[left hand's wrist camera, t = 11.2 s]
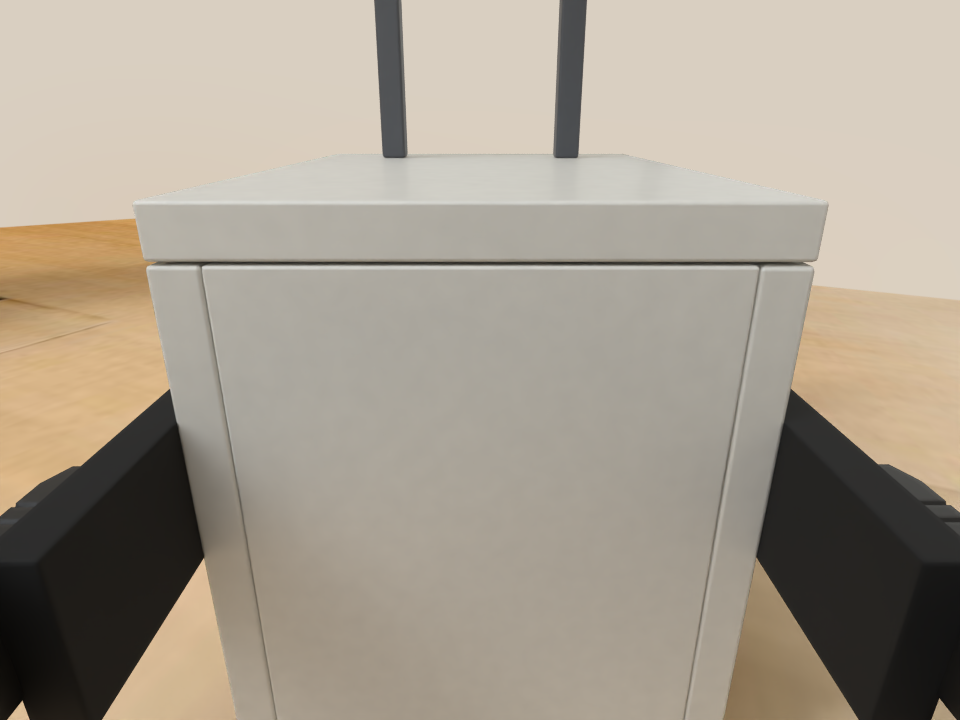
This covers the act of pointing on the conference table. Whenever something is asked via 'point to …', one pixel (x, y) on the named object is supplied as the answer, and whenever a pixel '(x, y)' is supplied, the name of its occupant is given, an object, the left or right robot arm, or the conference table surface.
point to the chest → (480, 478)
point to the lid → (480, 198)
